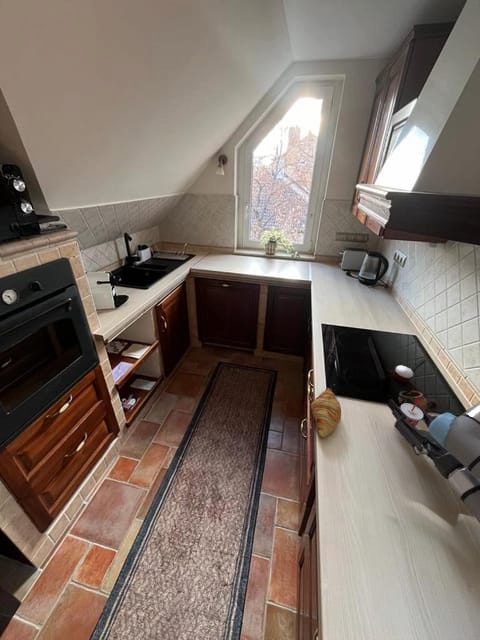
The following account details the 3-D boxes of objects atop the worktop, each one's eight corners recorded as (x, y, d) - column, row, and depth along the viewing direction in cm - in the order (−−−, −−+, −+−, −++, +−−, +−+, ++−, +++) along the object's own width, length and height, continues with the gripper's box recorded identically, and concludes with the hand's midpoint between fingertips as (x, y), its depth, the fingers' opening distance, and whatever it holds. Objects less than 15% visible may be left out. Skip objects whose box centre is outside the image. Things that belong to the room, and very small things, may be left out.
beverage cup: (388, 429, 83) (403, 399, 75) (394, 418, 86) (409, 388, 79) (409, 441, 79) (427, 411, 72) (415, 429, 83) (432, 400, 75)
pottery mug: (406, 422, 88) (402, 399, 87) (395, 411, 97) (392, 390, 97) (445, 420, 85) (442, 396, 85) (430, 409, 94) (427, 387, 94)
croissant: (328, 449, 82) (346, 440, 77) (303, 431, 82) (319, 421, 77) (332, 400, 98) (347, 390, 94) (311, 385, 98) (325, 375, 94)
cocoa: (387, 379, 105) (397, 356, 99) (390, 370, 110) (400, 348, 104) (413, 389, 101) (426, 366, 95) (415, 380, 105) (427, 357, 99)
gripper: (420, 486, 64) (368, 411, 84) (485, 477, 66) (421, 406, 86) (432, 469, 60) (375, 395, 80) (501, 460, 63) (430, 390, 82)
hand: (399, 401), depth 83 cm, fingers closed on beverage cup, 6 cm apart
